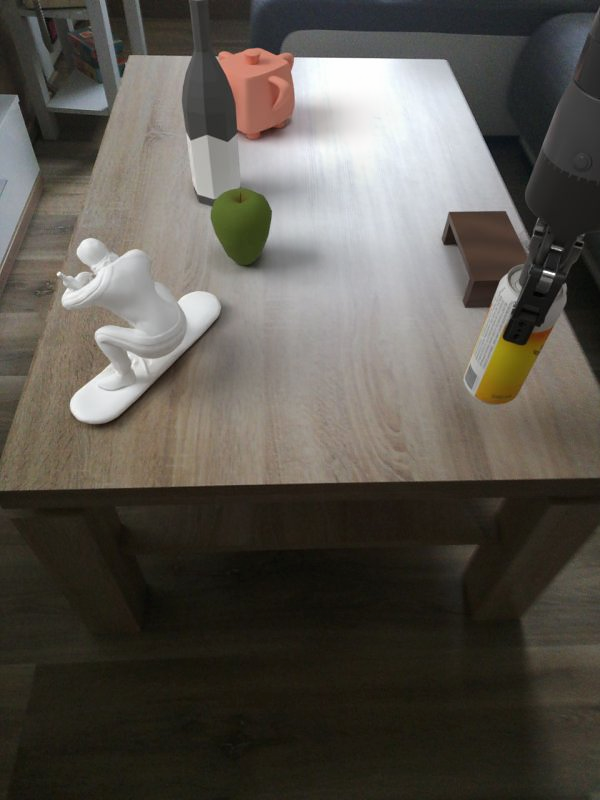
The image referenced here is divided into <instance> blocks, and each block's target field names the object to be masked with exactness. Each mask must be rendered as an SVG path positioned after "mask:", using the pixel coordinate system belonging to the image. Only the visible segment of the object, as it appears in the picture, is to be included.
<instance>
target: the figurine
mask: <svg viewBox="0 0 600 800" xmlns="http://www.w3.org/2000/svg"><path fill="white" fill-rule="evenodd" d="M76 256H77V258H78V259H79V260H80V261H81V262H82V264H84V265H87V267H89V269H90V270H91V271H81V272H79V273H78V274H77V275H76V276H75V277H73V276H72V275H65V274H64V273H62V272H61V271H57V272H56V276H57V277H58V278H59V279H61V280H62V285H63V286H64V287H66V290H65V291H64V293H63V294H62V296H61V305H62V308H64V309H65V310H67V311H75V310H85V309H88V308H92V307H96V306H98V307H101V308H102V309H105V310H107V311H109V312H111V313H113V314H115V315H117V316H118V317H119V318H121V319H122V320H124V321H126V322H127V323H128V324H129V325H130V326H131V327H123V326H118V325H112V324H107V325H103V326H101V327H99V328H98V329H96V331H95V333H94V340H95V343H96V344H97V346H98V347H99V349H100V350H101V352H102V353H103V354H104V355H105V356H106V357H107V359H108V360H109V362H110V363H109V364H108V365H107V366H106V367H105V368H104V369H103V370H102V371H101V372H100V373H98V374H97V375H95V376H94V377H93V378H92V379H91V380H90V381H88V382H87V383H86V384H85V385H83V386H82V387H81V388H80V389H78V390H77V391H76V392H75V393H74V394H73V396H72V397H71V399H70V402H69V409H70V412H71V413H72V415H73V417H75V418H76V420H78V421H79V422H81V423H85V424H89V425H101V424H106V423H109V422H111V421H113V420H115V419H117V418H118V417H119V416H120V415H122V414H123V413H124V412H125V411H126V410H127V409H128V408H129V407H130V406H131V405H132V404H134V403H135V402H136V401H137V400H138V399H139V398H140V397H141V396H142V395H143V394H144V393H145V392H146V391H147V390H148V389H149V388H150V387H151V386H152V385H153V384H154V383H155V382H156V381H157V380H158V378H160V377H161V376H162V375H163V374H164V373H165V372H166V371H167V370H168V369H169V368H170V367H171V366H172V365H173V364H174V363H175V362H176V361H177V360H178V359H179V358H180V357H181V356H182V355H183V354H184V353H185V352H186V351H187V350H188V349H189V348H190V347H191V346H192V345H193V344H195V342H196V341H197V340H198V339H199V338H200V337H202V335H203V334H204V333H205V332H206V331H207V330H208V329H209V328H210V327H211V326H212V325H213V323H214V322H215V321H216V320H217V319H218V317H220V314H221V310H222V308H221V307H222V306H221V302H220V300H219V299H218V297H217V296H215V294H213V293H211V292H208V291H203V290H197V291H191V292H188V293H187V294H185V295H183V296H181V297H180V299H179V300H178V301H177V300H176V298H175V297H174V296H173V294H172V293H171V292H170V290H169V289H168V288H167V287H166V285H165V284H164V283H163V282H160V281H154V272H153V267H152V266H153V265H152V259H151V257H150V256H149V254H147V253H146V252H145V251H143V250H141V249H137V248H133V249H130V250H128V251H126V252H125V253H124V254H122V255H121V256H119V255H118V254H117V253H115V252H113V251H109V250H108V248H107V246H106V245H105V243H103V241H101V240H99V239H97V238H94V237H93V238H92V237H89V238H86V239H83V240H82V241H81V242H80V244H79V246H78V247H77V248H76ZM93 275H94V276H95V277H93Z"/></svg>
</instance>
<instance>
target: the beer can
mask: <svg viewBox="0 0 600 800" xmlns="http://www.w3.org/2000/svg"><path fill="white" fill-rule="evenodd" d="M523 266H524V264H522V265H518V266H515V267H513V268H512V269H511V270H510V271H509V272H508V274H506V275H505V276H504V277H503V278H502V279H501V280H500V282H499V285H498V288H497V290H496V293H495V295H494V298H493V300H492V303H491V306H490V307H488V308H489V309H488V311H487V314H486V316H485V318H484V321H483V324H482V327H481V329H480V331H479V335H478V337H477V340H476V342H475V344H474V347H473V350H472V352H471V354H470V357H469V360H468V362H467V365H466V368H465V371H464V373H463V377H462V378H463V383H464V387H465V388H466V390H467V391H468V393H469V394H470V395H471V396H472V397H473V398H474V399H475V400H477V401H479V402H480V403H482V404H485V405H490V406H491V405H492V406H496V405H503V404H508V403H510V402H512V401H513V400H515V399H516V398H517V397H518V395H519V394H520V391H521V389H522V387H523V385H524V384H525V382H526V380H527V378H528V377H529V375H530V372H531V371H532V368H533V366H534V365H535V363H536V361H537V359H538V357H539V356H540V353H541V351H542V350H543V348H544V346H545V344H546V342H547V340H548V338H549V336H550V335H551V332H552V330H553V329H554V327H555V325H556V324H557V322H558V319H559V318H560V316H561V314H562V312H563V310H564V308H565V307H566V304H567V299H568V298H567V297H568V296H567V293H568V287H567V283H566V282H565V284H563V286H562V288H561V290H560V292H559V293H558V295H557V296H556V298H555V300H554V302H553V304H552V306H551V308H550V309H549V311H548V313H547V315H546V317H545V321H544V323H543V324H541V326H540V327H536V326H535V327H534V329H533V331H532V333H531V335H530V337H529V339H528V341H527V343H526V344H525V345H523V346H521V345H517V344H514V343H511V342H508V341H505V340H504V339H503V333H504V330H505V328H506V326H507V324H508V321H509V319H510V317H511V311H512V309H513V308H514V307H512V306H513V303H514V301H515V302H516V300H517V298H518V295H519V293H520V290H521V288H522V287H521V286H520V284H519V276H520V274H521V271H522V269H523ZM531 268H532V265H531V267H530V269H531ZM529 271H530V270H529ZM528 273H529V272H528Z"/></svg>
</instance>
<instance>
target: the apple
mask: <svg viewBox="0 0 600 800" xmlns="http://www.w3.org/2000/svg"><path fill="white" fill-rule="evenodd" d="M272 217H273V210H272V207H271V206H270V203H269V201H268V200H267V198H266V196H265V195H263V194H262V193H259V192H257V191H256V190H253V189H251V188H245V187H241V188H237V189H231V190H228V191H226V192H224V193H222V194H221V195H220V196H218V198H217V199H216V200H215V201H214V204H213V206H211V210H210V217H209V218H210V221H211V224H212V227H213V230H214V233H215V236H216V238H217V240H218V241H219V243H220V245H221V247H222V248H223V251H224V253H225V254H226V256H227V257H228V258H230V259H231V260H232V261H233V262H234V263H236V264H237V265H240V266H250V265H252V264H253V263H254V262H255V261H256V260H257V259H258V258H259V257H260V256H261V255H262V253H263V251H264V249H265V246H266V242H267V240H268V238H269V235H270V229H271V224H272V219H273V218H272Z"/></svg>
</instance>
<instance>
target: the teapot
mask: <svg viewBox="0 0 600 800" xmlns="http://www.w3.org/2000/svg"><path fill="white" fill-rule="evenodd" d="M217 60H218V62H219V64H220V65H221V67H222V69H223V71H224V72H225V74H226V76H227V79H228V81H229V84H230V86H231V89H232V92H233V96H234V100H235V103H236V119H237V131H239V132H241V133H243V134H245V135H246V137H247V138H248V139H249V140H258V139H259V138H260V137H261V132H263V131H266V130H269V129H271V128H274V129H281V128H283V127H285V123H284V122H285V121H287V120H288V119H290V118H291V117H292V116H293V113H294V110H295V105H296V104H295V103H296V97H295V96H296V95H295V94H296V93H295V85H294V80H293V79H294V78H293V74H292V70H293V67H294V63H295V57H294V54H292V53H291V52H283V53H280V54H278V55H276V54H275V53H272V52H270V51H267V50H265V49H263V48H260V47H255V48H254V47H253V48H247V49H245V50H243V51H239V52H237V53H231V52H229V51H226V50H225V51H220V52H219V53H218V56H217Z"/></svg>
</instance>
